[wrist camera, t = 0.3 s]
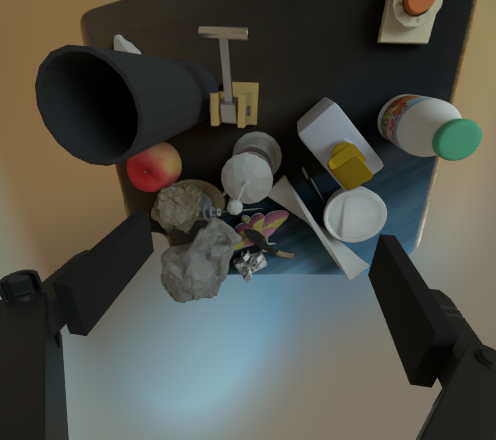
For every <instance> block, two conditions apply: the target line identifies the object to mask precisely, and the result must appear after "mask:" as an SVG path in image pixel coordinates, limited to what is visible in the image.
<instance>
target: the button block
mask: <svg viewBox="0 0 496 440" xmlns="http://www.w3.org/2000/svg"><path fill="white" fill-rule="evenodd" d="M442 2H443V0H435V1H434V3H433V5H432V6H431V7H430V8H429V9H428V10H426V11H424V12H422V13H420V14H417V15H411V14H409V13H407V12H406V10H405V8H404V0H386V2H385V7H384V12H383V16H382V21H381V26H380V31H379V35H378V40H377V43H399V44H426V43H428V40H429V37H430V33H431V30H432V26H433V23H434V19H435V16H436V13H437V11H438V10H439V9H440V8H441V6H442Z"/></svg>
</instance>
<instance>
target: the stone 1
mask: <svg viewBox="0 0 496 440" xmlns="http://www.w3.org/2000/svg"><path fill="white" fill-rule="evenodd" d="M114 50H116V51H123V52H130V53H136V54H141V53H140V51H139V50H138V49H137V48H136V47H134V45H133V44H132V43H130V42H129V41H126V40H125V39H124V38H123V37H122V36H121V35H119V34H118V35H115V37H114Z"/></svg>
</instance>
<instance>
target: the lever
mask: <svg viewBox="0 0 496 440" xmlns="http://www.w3.org/2000/svg"><path fill="white" fill-rule="evenodd" d="M198 34H199V38H200V39H216V40H219V44H220V55H221V65H222V76H223V87H224V96H223V99H222V101H221V104H220V107H221V117H222V122H230V123H236V122H237V119H238V97H233V85H232V70H231V55H230V40H248V39H249V28H248V27H217V26H199V29H198Z"/></svg>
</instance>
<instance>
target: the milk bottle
mask: <svg viewBox="0 0 496 440" xmlns="http://www.w3.org/2000/svg"><path fill="white" fill-rule="evenodd" d="M377 124H378V129H379V131H380V133H381V135H382V136H383V137H385V138H386V139H387V140H389V141H390V142H392V143H393V144H395V145H396V146H398V147H399V148H401V149H403V150H404V151H406V152H408V153H410V154H413V155H416V156H423V157H428V156H435V155H437V156H439V157H441V158H443V159H446V160H450V161H456V160H461V159H464V158H466V157H468V156H470V155H471V154H472V153H473V152H474V151H475V150H476V149H477V148H478V146H479V144H480V142H481V139H482V131H481V129H480V127H479V126H478V124H476V123H475V122H473V121H471V120H468V119H463V118H462V117H461V115H460V113H459V112H458V110H457V109H456V108H455V107H454V106H453V105H451V104H449V103H448V102H445V101H443V100H439V99H435V98H429V97H423V96H417V95H409V94H405V95H399V96H396V97H394V98H392V99H391V100H389V101H388V102H387V103H386V104H385V105H384V106H383V108H382V109H381V111H380V113H379V116H378V122H377Z"/></svg>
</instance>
